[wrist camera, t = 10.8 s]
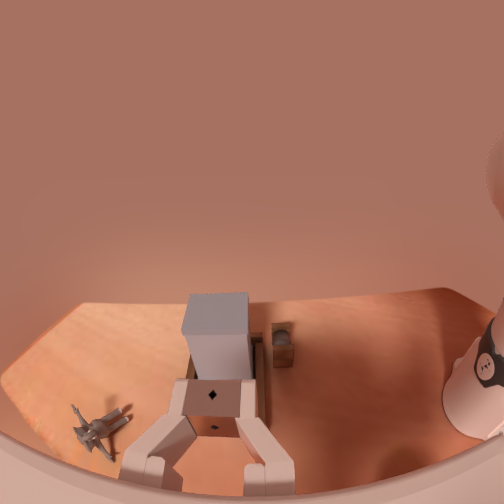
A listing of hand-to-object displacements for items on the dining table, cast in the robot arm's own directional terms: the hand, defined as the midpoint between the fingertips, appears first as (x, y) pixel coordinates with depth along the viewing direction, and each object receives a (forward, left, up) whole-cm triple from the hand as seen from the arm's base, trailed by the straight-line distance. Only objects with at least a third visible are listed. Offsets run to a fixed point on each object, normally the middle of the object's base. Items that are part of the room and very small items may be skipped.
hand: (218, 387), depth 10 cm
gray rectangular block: (+4, -23, -29) cm, 37 cm away
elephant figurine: (+22, -8, -29) cm, 37 cm away
